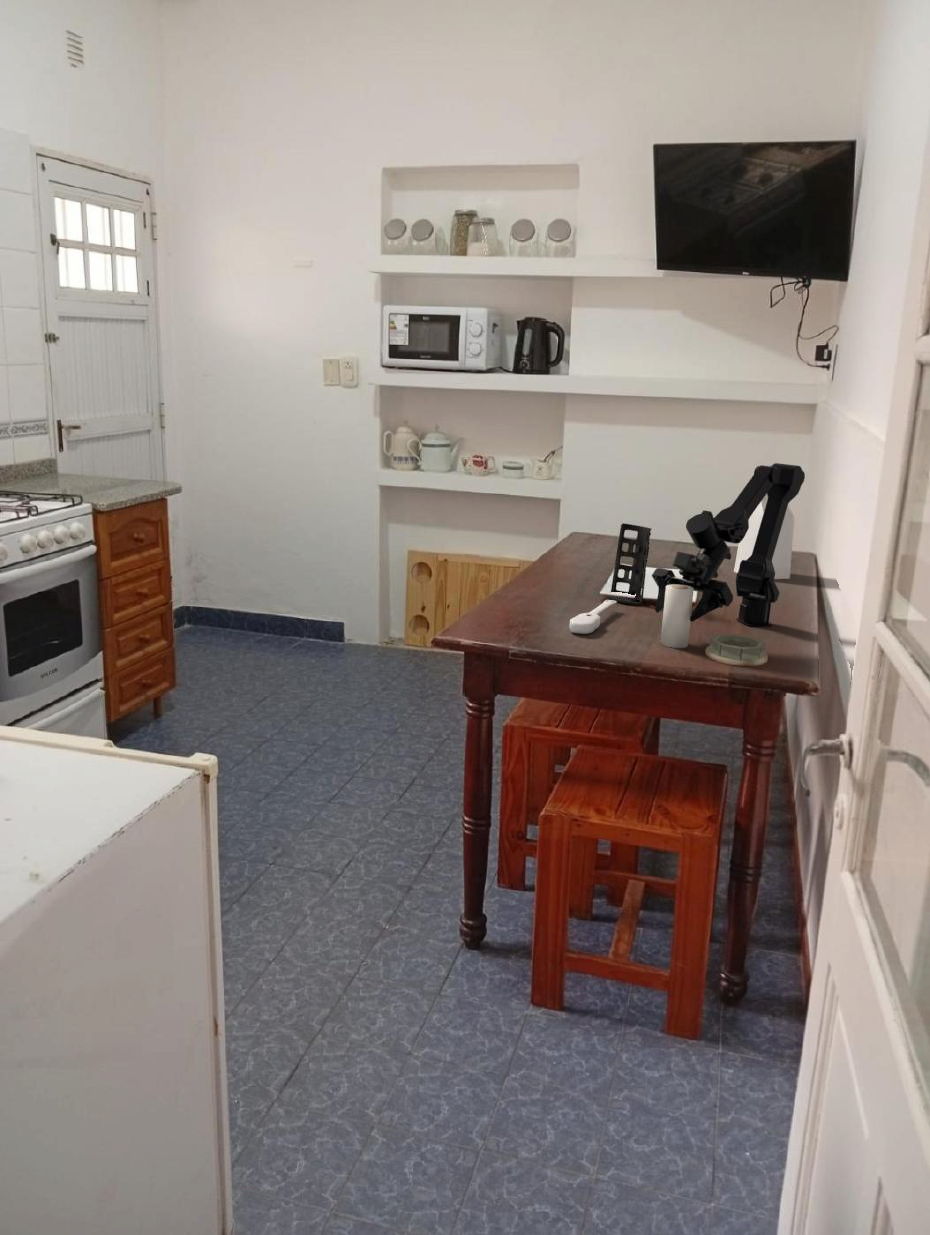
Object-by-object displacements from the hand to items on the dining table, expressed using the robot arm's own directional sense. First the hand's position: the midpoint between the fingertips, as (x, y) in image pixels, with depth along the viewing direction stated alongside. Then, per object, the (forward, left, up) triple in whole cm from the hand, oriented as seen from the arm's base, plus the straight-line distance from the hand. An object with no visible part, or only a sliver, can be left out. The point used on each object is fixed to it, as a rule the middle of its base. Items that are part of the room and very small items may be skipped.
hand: (673, 615), depth 219 cm
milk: (-66, -69, -7) cm, 95 cm away
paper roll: (-1, -1, -7) cm, 7 cm away
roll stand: (-10, +10, -7) cm, 16 cm away
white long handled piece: (+9, -21, -7) cm, 24 cm away
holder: (-9, -41, -7) cm, 42 cm away
